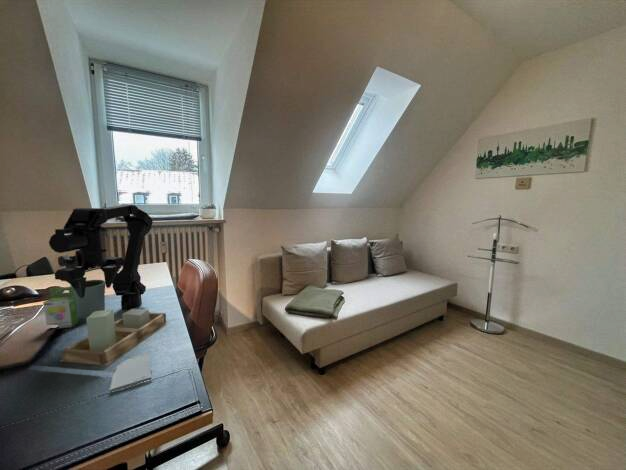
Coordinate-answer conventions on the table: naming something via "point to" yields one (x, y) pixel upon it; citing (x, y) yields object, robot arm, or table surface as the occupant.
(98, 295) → the dark green round bin
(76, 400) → the table surface
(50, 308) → the ink box
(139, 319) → the grey jaw block
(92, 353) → the oak housing tray
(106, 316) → the green block
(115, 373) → the hard drive
